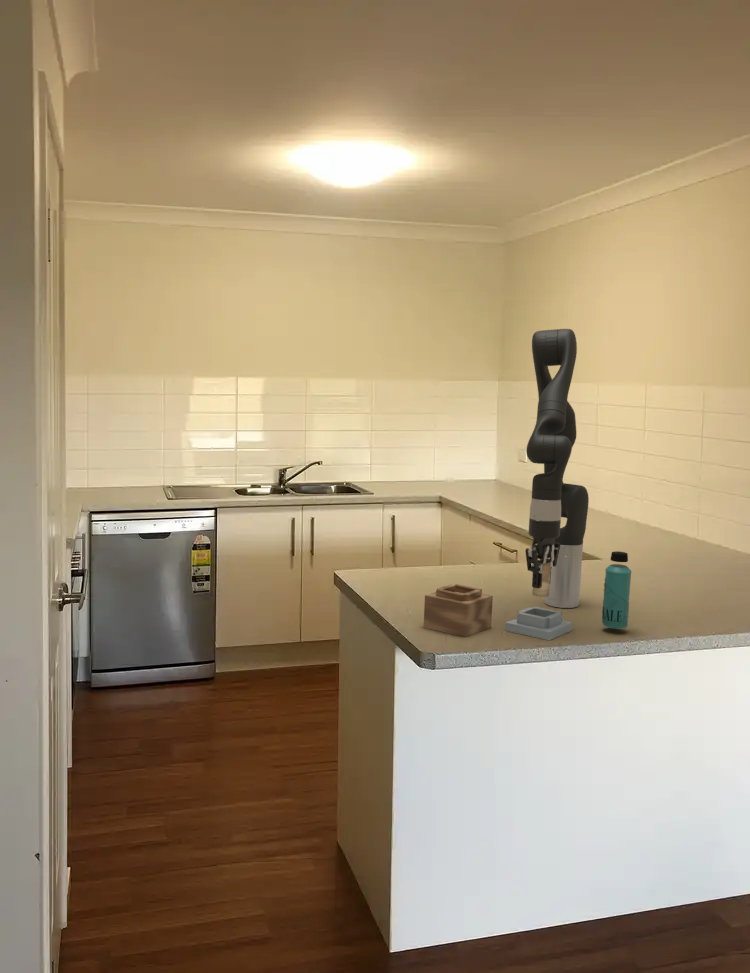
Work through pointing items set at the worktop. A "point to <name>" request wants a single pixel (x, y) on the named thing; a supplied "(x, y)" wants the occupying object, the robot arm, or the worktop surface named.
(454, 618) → the walnut dock
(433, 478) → the worktop surface
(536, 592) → the birch peg
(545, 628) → the slate dock
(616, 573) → the beverage bottle
